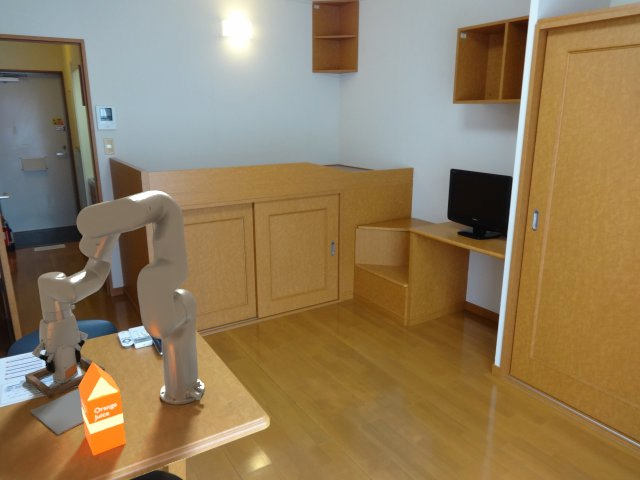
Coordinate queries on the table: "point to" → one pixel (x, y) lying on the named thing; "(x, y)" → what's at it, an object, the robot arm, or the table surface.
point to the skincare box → (64, 364)
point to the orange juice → (101, 410)
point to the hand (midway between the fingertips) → (64, 366)
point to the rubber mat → (61, 413)
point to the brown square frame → (51, 392)
